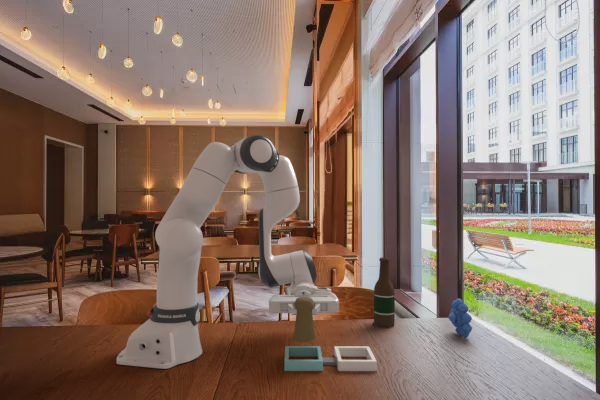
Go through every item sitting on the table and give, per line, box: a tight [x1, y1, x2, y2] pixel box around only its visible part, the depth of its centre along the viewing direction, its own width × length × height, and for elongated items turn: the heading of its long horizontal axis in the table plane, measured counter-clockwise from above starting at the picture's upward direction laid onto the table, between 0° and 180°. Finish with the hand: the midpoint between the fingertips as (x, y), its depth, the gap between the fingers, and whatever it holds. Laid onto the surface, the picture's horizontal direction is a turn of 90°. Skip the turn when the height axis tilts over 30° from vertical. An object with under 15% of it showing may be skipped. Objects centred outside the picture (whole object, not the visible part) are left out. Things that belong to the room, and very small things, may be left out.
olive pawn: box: [293, 297, 316, 343], centre depth 99 cm, size 6×6×11 cm
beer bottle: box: [373, 257, 396, 329], centre depth 132 cm, size 8×8×24 cm
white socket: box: [322, 345, 378, 372], centre depth 99 cm, size 14×10×2 cm
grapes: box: [447, 297, 473, 339], centre depth 121 cm, size 12×7×12 cm, turn 2°
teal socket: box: [283, 345, 324, 372], centre depth 99 cm, size 10×10×2 cm
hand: (304, 312), depth 98 cm, fingers closed on olive pawn, 4 cm apart
